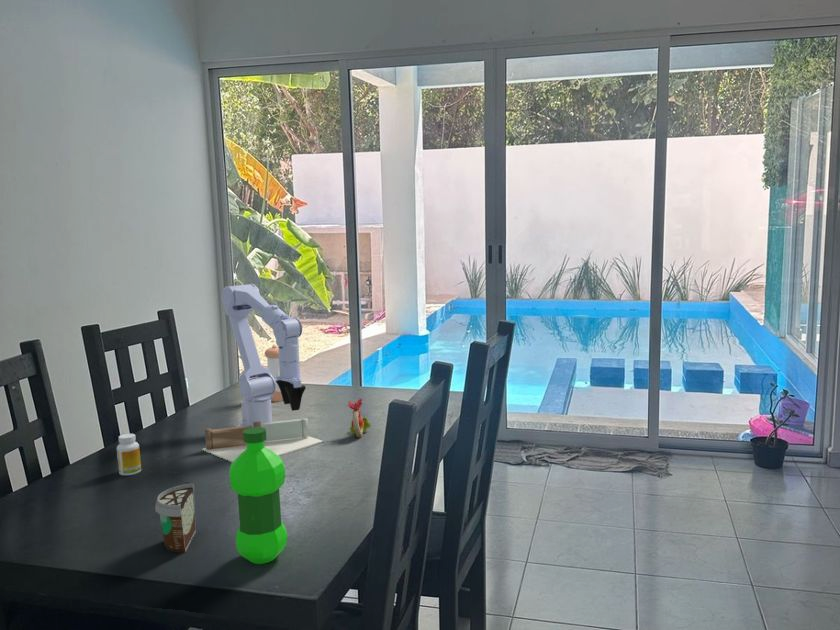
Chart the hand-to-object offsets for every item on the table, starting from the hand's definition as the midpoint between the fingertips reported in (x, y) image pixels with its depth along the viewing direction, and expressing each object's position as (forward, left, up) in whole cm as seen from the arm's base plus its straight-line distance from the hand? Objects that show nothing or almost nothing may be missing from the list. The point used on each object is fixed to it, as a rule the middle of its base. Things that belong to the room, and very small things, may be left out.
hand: (291, 406), depth 210 cm
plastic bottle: (+56, -48, -10) cm, 74 cm away
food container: (+37, -56, -10) cm, 68 cm away
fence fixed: (-6, -16, -9) cm, 19 cm away
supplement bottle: (-10, -44, -10) cm, 46 cm away
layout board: (-1, -10, -9) cm, 14 cm away
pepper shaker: (-41, +23, -10) cm, 48 cm away
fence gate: (+1, -3, -9) cm, 9 cm away
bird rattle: (+13, +14, -10) cm, 21 cm away
